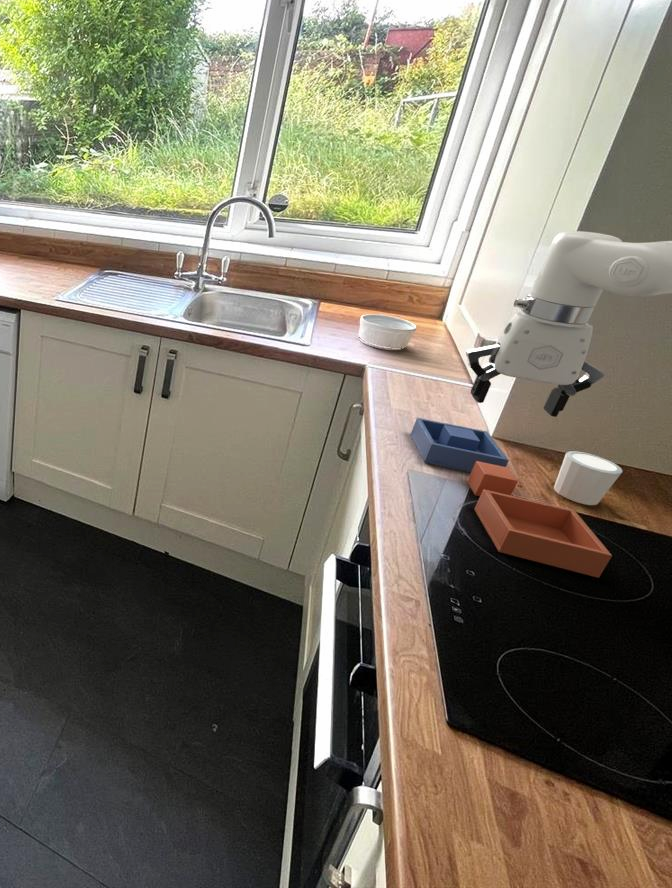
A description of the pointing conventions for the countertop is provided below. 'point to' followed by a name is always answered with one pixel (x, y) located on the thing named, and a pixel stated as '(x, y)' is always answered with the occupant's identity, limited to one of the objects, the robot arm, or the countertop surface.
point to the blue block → (458, 438)
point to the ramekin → (385, 331)
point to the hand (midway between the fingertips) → (512, 406)
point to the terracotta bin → (541, 533)
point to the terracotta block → (491, 479)
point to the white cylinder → (585, 477)
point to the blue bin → (452, 457)
